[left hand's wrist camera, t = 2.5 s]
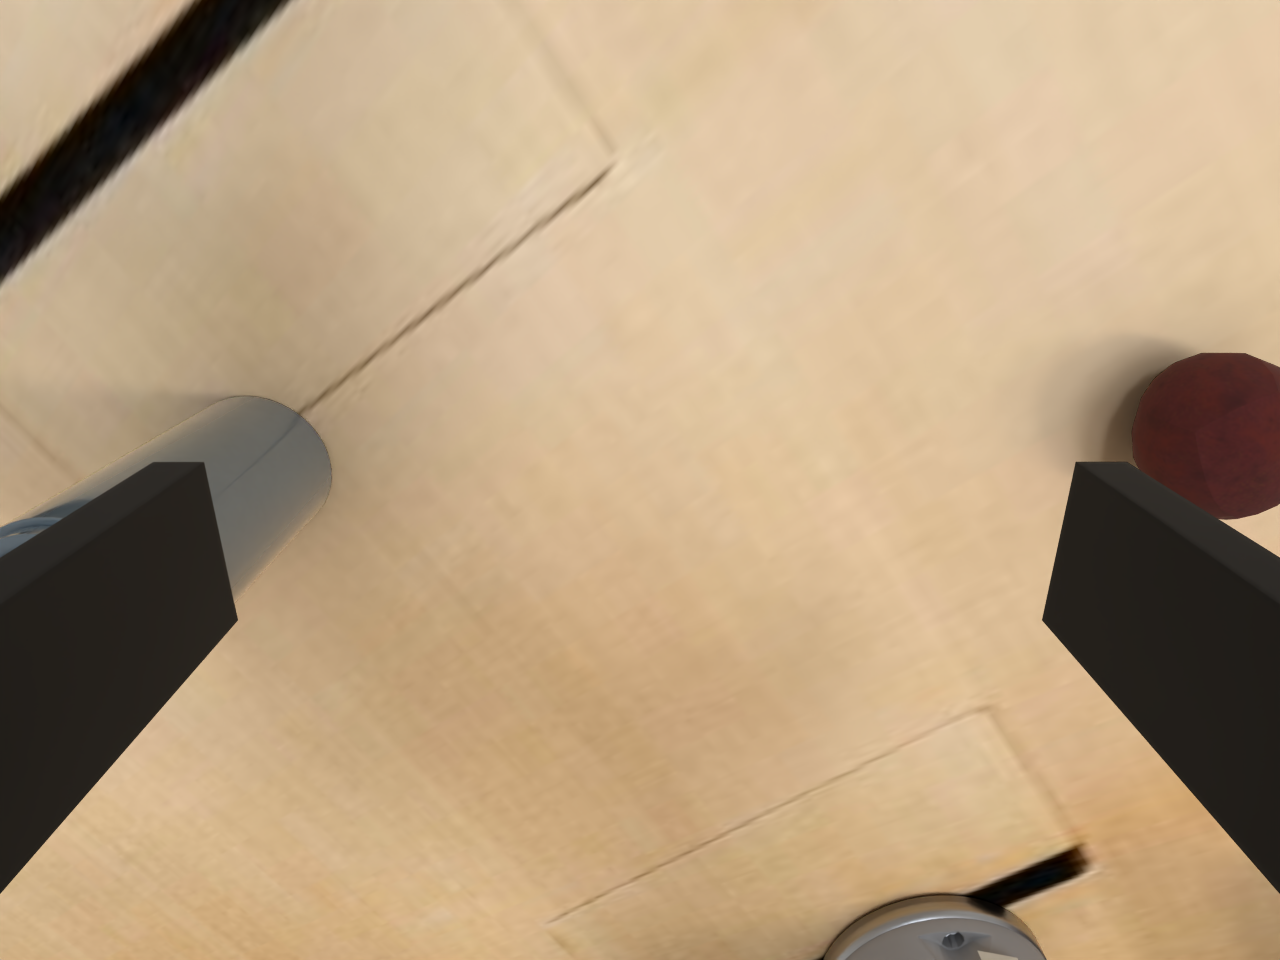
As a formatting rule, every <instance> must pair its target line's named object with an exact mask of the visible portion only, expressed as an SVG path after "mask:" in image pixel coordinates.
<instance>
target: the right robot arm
mask: <svg viewBox="0 0 1280 960" xmlns="http://www.w3.org/2000/svg"><path fill="white" fill-rule="evenodd" d="M823 960H1046V958H1045V956H1044V954H1043V952H1042V950H1041V948H1040V946H1039V944H1038V942H1037V940H1036V938H1035V936H1034V935H1033V933H1032V932H1031V930H1030V929H1029V928H1028V927H1027V925H1026V924H1025V923H1024V922H1023V921H1021V920H1020V919H1019V918H1018V917H1017V916H1015V915H1014V914H1012V913H1011V912H1009V911H1007V910H1006V909H1004V908H1002V907H1000V906H997V905H995V904H992V903H990V902H987V901H983V900H979V899H975V898H970V897H964V896H953V895H938V896H926V897H918V898H913V899H908V900H904V901H900V902H897V903H894V904H891V905H888V906H885V907H883V908H880V909H878V910H876V911H874V912H872V913H870V914H868V915H866V916H865V917H863V918H861V919H860V920H858V921H857V922H855V923H854V924H853V925H851V926H850V927H849V928H847V929H846V930H845V931H844V932H843V933H842V934H841V935H840V936H839V937H838V938H837V939H836V940H835V941H834V943H833V944H832V945H831V947H830V948H829V950H828V951H827V953H826V955H825V957H824V959H823Z"/></svg>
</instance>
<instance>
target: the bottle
mask: <svg viewBox="0 0 1280 960" xmlns="http://www.w3.org/2000/svg"><path fill="white" fill-rule="evenodd" d="M152 462H204V463H205V468H206V473H207V478H208V482H209V487H210V492H211V496H212V501H213V506H214V510H215V515H216V520H217V525H218V529H219V534H220V539H221V543H222V548H223V553H224V557H225V562H226V567H227V571H228V576H229V581H230V586H231V590H232V595H233V600H234V604H235V603H236V601H237V600H238V599H239V598H240V597H241V596H242V595H243V594H244V593H245V592H246V590H247V589H248V588H249V587H250V586H251V585H252V584H253V583H254V582H255V581H256V579H257V578H258V577H259V576H260V575H261V574H262V573H263V572H264V571H265V570H266V568H267V567H268V566H269V565H270V564H271V563H272V562H273V561H274V560H275V559H276V557H277V556H278V555H279V554H280V553H281V552H282V551H283V550H284V549H285V548H286V546H287V545H288V544H289V543H290V542H291V541H292V540H293V539H294V538H295V537H296V535H297V534H298V533H299V532H300V531H301V530H302V529H303V528H304V527H305V526H306V524H307V523H308V522H309V521H310V520H311V519H312V518H313V517H314V516H315V515H316V513H317V512H318V511H319V510H320V509H321V507H322V506H323V504H324V503H325V501H326V499H327V497H328V494H329V491H330V487H331V479H332V473H331V464H330V459H329V456H328V453H327V450H326V448H325V446H324V443H323V442H322V440H321V438H320V437H319V435H318V434H317V432H316V431H315V430H314V429H313V427H312V426H311V425H310V424H309V423H308V422H307V421H306V420H305V419H304V418H302V417H301V416H300V415H299V414H297V413H296V412H294V411H293V410H291V409H290V408H288V407H286V406H284V405H282V404H280V403H277V402H275V401H272V400H269V399H265V398H260V397H252V396H238V397H232V398H227V399H224V400H221V401H219V402H216V403H214V404H212V405H211V406H209V407H207V408H205V409H204V410H202V411H200V412H198V413H197V414H195V415H193V416H192V417H190V418H188V419H186V420H185V421H183V422H181V423H179V424H178V425H176V426H174V427H172V428H171V429H169V430H167V431H166V432H164V433H162V434H160V435H159V436H157V437H155V438H153V439H152V440H150V441H148V442H147V443H145V444H143V445H141V446H140V447H138V448H136V449H134V450H133V451H131V452H129V453H127V454H126V455H124V456H122V457H121V458H119V459H117V460H115V461H114V462H112V463H110V464H108V465H107V466H105V467H103V468H101V469H100V470H98V471H96V472H95V473H93V474H91V475H89V476H88V477H86V478H84V479H82V480H81V481H79V482H77V483H76V484H74V485H72V486H70V487H69V488H67V489H65V490H63V491H62V492H60V493H58V494H56V495H55V496H53V497H51V498H50V499H48V500H46V501H44V502H43V503H41V504H39V505H37V506H36V507H34V508H32V509H31V510H29V511H27V512H25V513H24V514H22V515H20V516H18V517H17V518H15V519H13V520H11V521H10V522H8V523H6V524H5V525H3V526H1V527H0V557H2V556H4V555H5V554H7V553H8V552H10V551H12V550H13V549H15V548H16V547H18V546H20V545H21V544H23V543H24V542H26V541H28V540H29V539H31V538H32V537H34V536H36V535H37V534H39V533H40V532H42V531H44V530H45V529H47V528H48V527H50V526H52V525H53V524H55V523H56V522H58V521H60V520H61V519H63V518H64V517H66V516H68V515H69V514H71V513H72V512H74V511H76V510H77V509H79V508H80V507H82V506H84V505H85V504H87V503H88V502H90V501H92V500H93V499H95V498H96V497H98V496H100V495H101V494H103V493H104V492H106V491H108V490H109V489H111V488H112V487H114V486H116V485H117V484H119V483H120V482H122V481H124V480H125V479H127V478H128V477H130V476H132V475H133V474H135V473H136V472H138V471H140V470H141V469H143V468H144V467H146V466H148V465H149V464H151V463H152Z"/></svg>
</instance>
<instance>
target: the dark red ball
mask: <svg viewBox="0 0 1280 960" xmlns="http://www.w3.org/2000/svg"><path fill="white" fill-rule="evenodd" d="M1132 444H1133V458H1134V460H1135V462H1136V464H1137V466H1138V468H1139V469H1140V471H1142V472H1144V473H1145V474H1147V475H1148V476H1150V477H1152V478H1153V479H1155V480H1156V481H1158V482H1160V483H1161V484H1163V485H1164V486H1166V487H1168V488H1169V489H1171V490H1172V491H1174V492H1176V493H1177V494H1179V495H1180V496H1182V497H1184V498H1185V499H1187V500H1188V501H1190V502H1192V503H1193V504H1195V505H1196V506H1198V507H1200V508H1201V509H1203V510H1204V511H1206V512H1208V513H1209V514H1211V515H1212V516H1214V517H1216V518H1217V519H1225V520H1228V519H1239V518H1243V517H1247V516H1252V515H1256V514H1259V513H1261V512H1264V511H1266V510H1268V509H1270V508H1273V507H1275V506H1277V505H1279V504H1280V367H1278V366H1276V365H1273V364H1271V363H1268V362H1266V361H1263V360H1261V359H1258V358H1256V357H1253V356H1251V355H1248V354H1246V353H1200V354H1198V355H1195V356H1192V357H1189V358H1186V359H1183V360H1181V361H1178V362H1175V363H1174V364H1172V365H1170V366H1169V367H1168V368H1167V369H1165V370H1164V371H1163V372H1162V373H1161V374H1159V375H1158V376H1157V377H1156V378H1154V379H1153V381H1152V382H1151V384H1150V385H1149V387H1148V388H1147V390H1146V391H1145V393H1144V394H1143V396H1142V397H1141V400H1140V404H1139V407H1138V411H1137V414H1136V417H1135V421H1134V424H1133V428H1132Z"/></svg>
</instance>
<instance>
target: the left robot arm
mask: <svg viewBox="0 0 1280 960" xmlns="http://www.w3.org/2000/svg"><path fill="white" fill-rule="evenodd" d="M237 621H238V618H237V614H236V609H235V604H234V600H233V595H232V590H231V586H230V581H229V576H228V571H227V567H226V562H225V557H224V553H223V548H222V543H221V539H220V534H219V529H218V525H217V520H216V515H215V510H214V506H213V501H212V496H211V492H210V487H209V482H208V478H207V473H206V468H205V463H204V462H152V463H151V464H149V465H148V466H146V467H144V468H143V469H141V470H140V471H138V472H136V473H135V474H133V475H132V476H130V477H128V478H127V479H125V480H124V481H122V482H120V483H119V484H117V485H116V486H114V487H112V488H111V489H109V490H108V491H106V492H104V493H103V494H101V495H100V496H98V497H96V498H95V499H93V500H92V501H90V502H88V503H87V504H85V505H84V506H82V507H80V508H79V509H77V510H76V511H74V512H72V513H71V514H69V515H68V516H66V517H64V518H63V519H61V520H60V521H58V522H56V523H55V524H53V525H52V526H50V527H48V528H47V529H45V530H44V531H42V532H40V533H39V534H37V535H36V536H34V537H32V538H31V539H29V540H28V541H26V542H24V543H23V544H21V545H20V546H18V547H16V548H15V549H13V550H12V551H10V552H8V553H7V554H5V555H4V556H2V557H0V893H1V892H2V891H3V890H4V889H5V888H6V886H7V885H8V884H9V883H10V882H11V881H12V880H13V878H14V877H15V876H16V875H17V874H18V873H19V872H20V870H21V869H22V868H23V867H24V866H25V865H26V863H27V862H28V861H29V860H30V859H31V858H32V857H33V855H34V854H35V853H36V852H37V851H38V850H39V849H40V847H41V846H42V845H43V844H44V843H45V842H46V840H47V839H48V838H49V837H50V836H51V835H52V834H53V832H54V831H55V830H56V829H57V828H58V827H59V825H60V824H61V823H62V822H63V821H64V820H65V819H66V817H67V816H68V815H69V814H70V813H71V812H72V811H73V809H74V808H75V807H76V806H77V805H78V804H79V802H80V801H81V800H82V799H83V798H84V797H85V796H86V794H87V793H88V792H89V791H90V790H91V789H92V788H93V786H94V785H95V784H96V783H97V782H98V781H99V779H100V778H101V777H102V776H103V775H104V774H105V773H106V771H107V770H108V769H109V768H110V767H111V766H112V765H113V763H114V762H115V761H116V760H117V759H118V758H119V756H120V755H121V754H122V753H123V752H124V751H125V750H126V748H127V747H128V746H129V745H130V744H131V743H132V741H133V740H134V739H135V738H136V737H137V736H138V735H139V733H140V732H141V731H142V730H143V729H144V728H145V727H146V725H147V724H148V723H149V722H150V721H151V720H152V718H153V717H154V716H155V715H156V714H157V713H158V712H159V710H160V709H161V708H162V707H163V706H164V705H165V704H166V702H167V701H168V700H169V699H170V698H171V697H172V695H173V694H174V693H175V692H176V691H177V690H178V689H179V687H180V686H181V685H182V684H183V683H184V682H185V680H186V679H187V678H188V677H189V676H190V675H191V674H192V672H193V671H194V670H195V669H196V668H197V667H198V666H199V664H200V663H201V662H202V661H203V660H204V659H205V657H206V656H207V655H208V654H209V653H210V652H211V651H212V649H213V648H214V647H215V646H216V645H217V644H218V643H219V641H220V640H221V639H222V638H223V637H224V636H225V634H226V633H227V632H228V631H229V630H230V629H231V628H232V626H233V625H234V624H235V623H236V622H237ZM1042 621H1043V622H1044V623H1045V624H1046V625H1047V626H1048V628H1049V629H1050V630H1051V631H1052V632H1053V633H1054V634H1055V636H1056V637H1057V638H1058V639H1059V640H1060V641H1061V643H1062V644H1063V645H1064V646H1065V647H1066V648H1067V649H1068V651H1069V652H1070V653H1071V654H1072V655H1073V656H1074V657H1075V659H1076V660H1077V661H1078V662H1079V663H1080V664H1081V666H1082V667H1083V668H1084V669H1085V670H1086V671H1087V672H1088V674H1089V675H1090V676H1091V677H1092V678H1093V679H1094V680H1095V682H1096V683H1097V684H1098V685H1099V686H1100V687H1101V689H1102V690H1103V691H1104V692H1105V693H1106V694H1107V695H1108V697H1109V698H1110V699H1111V700H1112V701H1113V702H1114V704H1115V705H1116V706H1117V707H1118V708H1119V709H1120V710H1121V712H1122V713H1123V714H1124V715H1125V716H1126V717H1127V718H1128V720H1129V721H1130V722H1131V723H1132V724H1133V725H1134V727H1135V728H1136V729H1137V730H1138V731H1139V732H1140V733H1141V735H1142V736H1143V737H1144V738H1145V739H1146V740H1147V741H1148V743H1149V744H1150V745H1151V746H1152V747H1153V748H1154V750H1155V751H1156V752H1157V753H1158V754H1159V755H1160V756H1161V758H1162V759H1163V760H1164V761H1165V762H1166V763H1167V765H1168V766H1169V767H1170V768H1171V769H1172V770H1173V771H1174V773H1175V774H1176V775H1177V776H1178V777H1179V778H1180V779H1181V781H1182V782H1183V783H1184V784H1185V785H1186V786H1187V788H1188V789H1189V790H1190V791H1191V792H1192V793H1193V794H1194V796H1195V797H1196V798H1197V799H1198V800H1199V801H1200V802H1201V804H1202V805H1203V806H1204V807H1205V808H1206V809H1207V811H1208V812H1209V813H1210V814H1211V815H1212V816H1213V817H1214V819H1215V820H1216V821H1217V822H1218V823H1219V824H1220V825H1221V827H1222V828H1223V829H1224V830H1225V831H1226V832H1227V834H1228V835H1229V836H1230V837H1231V838H1232V839H1233V840H1234V842H1235V843H1236V844H1237V845H1238V846H1239V847H1240V849H1241V850H1242V851H1243V852H1244V853H1245V854H1246V855H1247V857H1248V858H1249V859H1250V860H1251V861H1252V862H1253V863H1254V865H1255V866H1256V867H1257V868H1258V869H1259V870H1260V872H1261V873H1262V874H1263V875H1264V876H1265V877H1266V878H1267V880H1268V881H1269V882H1270V883H1271V884H1272V885H1273V886H1274V888H1275V889H1276V890H1277V891H1278V892H1279V893H1280V557H1278V556H1276V555H1275V554H1273V553H1272V552H1270V551H1268V550H1267V549H1265V548H1264V547H1262V546H1260V545H1259V544H1257V543H1256V542H1254V541H1252V540H1251V539H1249V538H1248V537H1246V536H1244V535H1243V534H1241V533H1240V532H1238V531H1236V530H1235V529H1233V528H1232V527H1230V526H1228V525H1227V524H1225V523H1224V522H1222V521H1220V520H1219V519H1217V518H1216V517H1214V516H1212V515H1211V514H1209V513H1208V512H1206V511H1204V510H1203V509H1201V508H1200V507H1198V506H1196V505H1195V504H1193V503H1192V502H1190V501H1188V500H1187V499H1185V498H1184V497H1182V496H1180V495H1179V494H1177V493H1176V492H1174V491H1172V490H1171V489H1169V488H1168V487H1166V486H1164V485H1163V484H1161V483H1160V482H1158V481H1156V480H1155V479H1153V478H1152V477H1150V476H1148V475H1147V474H1145V473H1144V472H1142V471H1140V470H1139V469H1137V468H1136V467H1134V466H1132V465H1131V464H1129V463H1128V462H1076V463H1075V468H1074V473H1073V478H1072V482H1071V487H1070V492H1069V496H1068V501H1067V506H1066V510H1065V515H1064V520H1063V525H1062V529H1061V534H1060V539H1059V543H1058V548H1057V553H1056V557H1055V562H1054V567H1053V571H1052V576H1051V581H1050V586H1049V590H1048V595H1047V600H1046V604H1045V609H1044V614H1043V618H1042Z"/></svg>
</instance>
